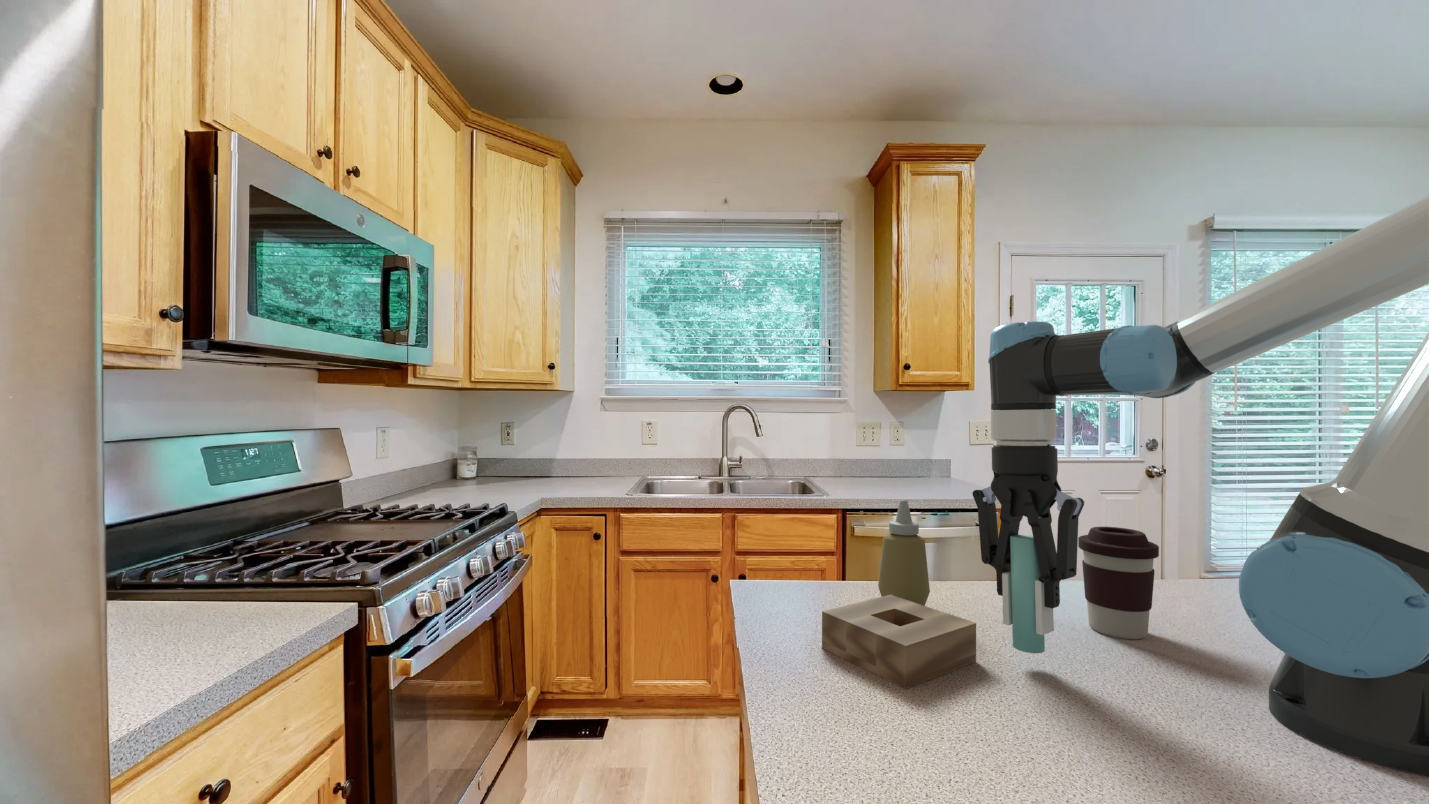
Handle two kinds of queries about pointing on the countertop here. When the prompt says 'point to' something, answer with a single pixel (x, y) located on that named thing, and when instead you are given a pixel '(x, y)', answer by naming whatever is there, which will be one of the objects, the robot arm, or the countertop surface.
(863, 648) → the bore block
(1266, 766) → the countertop surface
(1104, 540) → the coffee cup
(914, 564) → the squeeze bottle
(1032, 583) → the pin
